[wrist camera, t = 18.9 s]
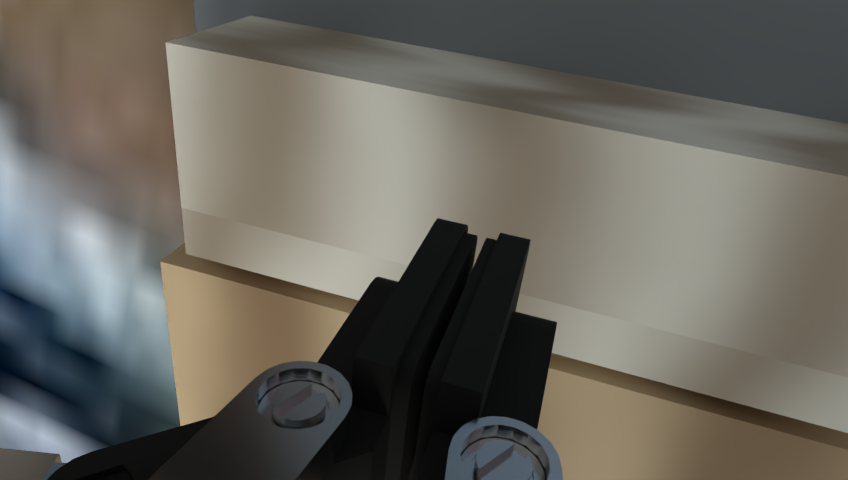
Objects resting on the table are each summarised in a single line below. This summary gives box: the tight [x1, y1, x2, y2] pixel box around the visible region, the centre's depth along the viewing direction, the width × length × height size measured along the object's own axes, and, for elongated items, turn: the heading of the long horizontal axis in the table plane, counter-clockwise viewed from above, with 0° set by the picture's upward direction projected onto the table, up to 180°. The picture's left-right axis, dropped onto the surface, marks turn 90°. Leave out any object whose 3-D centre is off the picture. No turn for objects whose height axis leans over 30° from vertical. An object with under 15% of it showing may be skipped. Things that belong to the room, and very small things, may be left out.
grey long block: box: [166, 16, 848, 433], centre depth 17 cm, size 18×6×4 cm, turn 84°
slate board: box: [193, 0, 848, 124], centre depth 20 cm, size 22×20×2 cm
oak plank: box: [160, 243, 848, 480], centre depth 20 cm, size 20×8×4 cm, turn 84°
